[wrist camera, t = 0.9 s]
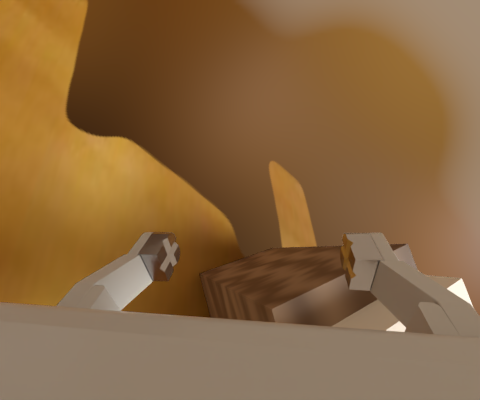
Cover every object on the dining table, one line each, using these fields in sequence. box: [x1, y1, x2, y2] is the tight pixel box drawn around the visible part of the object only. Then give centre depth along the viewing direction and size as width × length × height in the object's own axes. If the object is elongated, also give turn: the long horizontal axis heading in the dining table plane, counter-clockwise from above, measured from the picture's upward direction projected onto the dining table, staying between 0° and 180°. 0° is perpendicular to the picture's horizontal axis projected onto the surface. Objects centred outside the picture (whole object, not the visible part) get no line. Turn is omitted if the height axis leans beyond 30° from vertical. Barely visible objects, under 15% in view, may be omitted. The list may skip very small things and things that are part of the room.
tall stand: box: [200, 244, 417, 327], centre depth 33 cm, size 17×10×30 cm, turn 107°
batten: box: [331, 275, 473, 332], centre depth 16 cm, size 26×4×4 cm, turn 107°
